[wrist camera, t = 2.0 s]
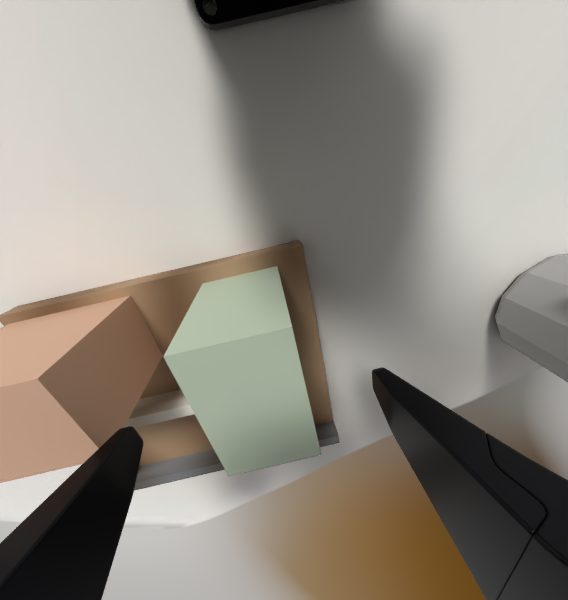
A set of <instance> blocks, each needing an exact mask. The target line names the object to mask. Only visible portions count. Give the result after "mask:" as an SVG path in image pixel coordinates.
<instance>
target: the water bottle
mask: <svg viewBox="0 0 568 600" xmlns="http://www.w3.org/2000/svg"><path fill="white" fill-rule="evenodd" d="M495 319H496V323H497V326H498V329H499V332H500V335H501V338H502V340H503V341H504V342H506V343H507V344H509V345H511V346H512V347H514V348H515V349H517V350H518V351H520V352H521V353H523V354H525V355H526V356H528V357H529V358H531V359H532V360H534V361H535V362H537V363H539V364H540V365H542V366H543V367H545V368H546V369H548V370H549V371H551V372H553V373H554V374H556V375H557V376H559V377H560V378H562V379H564V380H565V381H567V382H568V254H561V255H555V256H552V257H548V258H546V259H545V260H543V261H541V262H540V263H538V264H537V265H535V266H533V267H532V268H530V269H528V270H527V271H525V272H524V273H522V274H520V276H519V277H518V278H517V279H516V280H515V281H514V283H513V284H512V285H511V286H510V287H509V288H508V290H507V291H506V292H505V293H504V294H503V295H502V297H501V300H500V304H499V307H498V310H497V313H496V316H495Z"/></svg>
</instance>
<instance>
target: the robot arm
mask: <svg viewBox="0 0 568 600" xmlns="http://www.w3.org/2000/svg"><path fill="white" fill-rule="evenodd" d="M194 1H195V5H196V9H197V12H198V15H199V17H200V20H201V22H202V23H203V25H204V26H205V27H206V28H208V29H210V30H220V29H225V28H229V27H233V26H237V25H242V24H246V23H250V22H254V21H259V20H263V19H267V18H272V17H276V16H280V15H284V14H289V13H293V12H297V11H302V10H306V9H310V8H314V7H319V6H323V5H327V4H331V3H336V2H340V1H344V0H194ZM208 3H213V4H214V5H215V6H216V7H217V11H216V13H215V14H214V15H208V14H207V13H206V12H205V7H206V5H207V4H208ZM372 381H373V389H374V392H375V394H376V397H377V399H378V401H379V403H380V406H381V408H382V410H383V413H384V415H385V417H386V420H387V422H388V424H389V426H390V429H391V431H392V433H393V435H394V437H395V439H396V440H397V442H398V444H399V446H400V447H401V449H402V451H403V453H404V455H405V456H406V458H407V460H408V461H409V463H410V465H411V467H412V469H413V470H414V472H415V474H416V476H417V478H418V479H419V481H420V483H421V485H422V486H423V488H424V490H425V492H426V493H427V495H428V497H429V498H430V501H431V502H432V504H433V506H434V508H435V509H436V511H437V513H438V515H439V516H440V518H441V520H442V522H443V523H444V525H445V527H446V529H447V530H448V532H449V534H450V536H451V537H452V539H453V541H454V543H455V545H456V546H457V548H458V550H459V552H460V554H461V555H462V557H463V559H464V561H465V562H466V564H467V566H468V568H469V570H470V571H471V573H472V575H473V577H474V578H475V580H476V582H477V584H478V585H479V587H480V589H481V591H482V593H483V594H484V596H485V598H486V600H568V480H566V479H565V478H563V477H561V476H559V475H557V474H555V473H554V472H552V471H550V470H548V469H546V468H545V467H543V466H541V465H539V464H538V463H536V462H534V461H532V460H530V459H529V458H527V457H525V456H523V455H522V454H520V453H519V452H517V451H516V450H514V449H512V448H511V447H509V446H507V445H506V444H504V443H502V442H501V441H499V440H498V439H496V438H494V437H493V436H491V435H490V434H488V433H487V434H486V433H485V431H483V430H482V429H480V428H478V427H477V426H475V425H474V424H472V423H471V422H469V421H467V420H466V419H464V418H463V417H461V416H460V415H458V414H456V413H455V412H453V411H452V410H450V409H449V408H447V407H445V406H444V405H442V404H441V403H439V402H438V401H436V400H434V399H433V398H431V397H430V396H428V395H426V394H425V393H423V392H422V391H420V390H419V389H417V388H415V387H414V386H412V385H411V384H409V383H408V382H406V381H404V380H403V379H401V378H400V377H398V376H396V375H395V374H393V373H392V372H390V371H389V370H387V369H385V368H378V369H374V370H373V371H372ZM142 450H143V439H142V438H141V436H140V435H139V434H138V432H137V431H136V430H135V428H134V427H132V426H128V427H124V428H121V429H119V430H117V431H116V432H115V433H114V434H113V435H112V436H111V437H110V438H109V439H108V440H107V441H106V442H105V443H104V444H103V445H102V446H101V447H100V448H99V449H98V450H97V451H96V452H95V453H94V454H93V455H92V456H90V457H89V458H88V459H87V460H86V461H85V462H84V463H83V464H82V465H81V466H80V467H79V468H78V469H77V470H76V471H75V472H74V473H73V474H72V475H71V476H70V477H69V478H68V479H67V480H66V481H65V482H64V483H62V484H61V485H60V486H59V487H58V488H57V489H56V490H55V491H54V492H53V493H52V494H51V495H50V496H49V497H48V498H47V499H46V500H45V501H44V502H43V503H42V504H41V505H40V506H39V507H38V508H37V509H35V510H34V511H33V512H32V513H31V514H30V515H29V516H28V517H27V518H26V519H25V520H24V521H23V522H22V523H21V524H20V525H19V526H18V527H17V528H16V529H15V530H14V531H13V532H12V533H11V534H10V535H9V536H7V538H5V539H4V540H3V541H2V542H1V543H0V600H101V598H102V595H103V592H104V589H105V585H106V582H107V578H108V576H109V572H110V569H111V566H112V562H113V559H114V556H115V552H116V549H117V546H118V542H119V539H120V536H121V532H122V529H123V526H124V523H125V519H126V516H127V513H128V509H129V506H130V503H131V499H132V496H133V492H134V488H135V483H136V479H137V474H138V469H139V464H140V459H141V455H142Z"/></svg>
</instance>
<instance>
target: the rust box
mask: <svg viewBox="0 0 568 600" xmlns="http://www.w3.org/2000/svg"><path fill="white" fill-rule="evenodd" d="M162 356H163V354H162V353H161V351H160V349H159V347H158V345H157V343H156V342H155V340H154V338H153V336H152V334H151V332H150V331H149V329H148V327H147V325H146V323H145V321H144V320H143V318H142V316H141V314H140V312H139V310H138V309H137V307H136V305H135V303H134V301H133V299H132V298H131V296H126V297H122V298H118V299H114V300H109V301H105V302H101V303H96V304H92V305H88V306H84V307H79V308H75V309H71V310H66V311H62V312H58V313H54V314H49V315H45V316H41V317H36V318H32V319H28V320H24V321H19V322H15V323H11V324H7V325H6V326H4V327H2V328H0V483H2V482H6V481H11V480H15V479H19V478H24V477H28V476H32V475H36V474H41V473H45V472H49V471H54V470H58V469H62V468H66V467H71V466H75V465H79V464H83V463H84V462H85V461H86V460H87V459H88V458H89V457H90V456H92V455H93V454H94V453H95V452H96V451H97V450H98V449H99V448H100V447H101V446H102V445H103V444H104V443H105V442H106V441H107V440H108V439H109V438H110V437H111V436H112V435H113V434H114V433H115V432H116V431H117V430H119V429H121V428H124V426H125V424H126V423H127V421H128V419H129V417H130V415H131V413H132V412H133V410H134V408H135V406H136V404H137V402H138V401H139V399H140V397H141V395H142V393H143V391H144V389H145V388H146V386H147V384H148V382H149V380H150V378H151V377H152V375H153V373H154V371H155V369H156V367H157V366H158V364H159V362H160V360H161V358H162Z"/></svg>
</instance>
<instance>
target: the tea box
mask: <svg viewBox="0 0 568 600" xmlns="http://www.w3.org/2000/svg"><path fill="white" fill-rule="evenodd" d="M163 357H164V359H165V361H166V363H167V365H168V366H169V368H170V370H171V372H172V374H173V376H174V377H175V379H176V381H177V383H178V385H179V386H180V388H181V390H182V392H183V394H184V396H185V397H186V399H187V401H188V403H189V405H190V407H191V408H192V410H193V412H194V414H195V416H196V418H197V419H198V421H199V423H200V425H201V427H202V429H203V430H204V432H205V434H206V436H207V438H208V440H209V441H210V443H211V445H212V447H213V449H214V451H215V452H216V454H217V456H218V458H219V460H220V462H221V463H222V465H223V467H224V469H225V471H226V473H227V474H228V476H232V475H236V474H241V473H245V472H249V471H254V470H258V469H262V468H267V467H271V466H275V465H279V464H284V463H288V462H292V461H297V460H301V459H305V458H309V457H314V456H318V455H321V450H320V446H319V442H318V437H317V433H316V429H315V424H314V420H313V416H312V411H311V407H310V403H309V398H308V394H307V389H306V385H305V381H304V376H303V372H302V368H301V363H300V359H299V355H298V350H297V346H296V341H295V337H294V333H293V328H292V324H291V320H290V316H289V312H288V308H287V304H286V300H285V296H284V292H283V288H282V283H281V279H280V275H279V271H278V267H277V266H275V267H271V268H267V269H263V270H258V271H254V272H250V273H245V274H241V275H237V276H233V277H228V278H224V279H220V280H215V281H211V282H207V283H203V284H202V286H201V287H200V289H199V291H198V293H197V295H196V297H195V299H194V300H193V302H192V304H191V306H190V308H189V310H188V312H187V313H186V315H185V317H184V319H183V321H182V323H181V325H180V327H179V328H178V330H177V332H176V334H175V336H174V338H173V340H172V341H171V343H170V345H169V347H168V349H167V351H166V353H165V354H164V356H163Z"/></svg>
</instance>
